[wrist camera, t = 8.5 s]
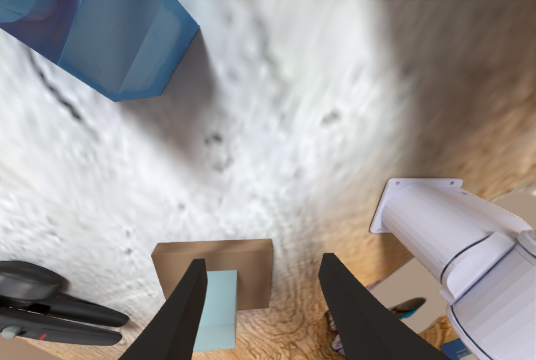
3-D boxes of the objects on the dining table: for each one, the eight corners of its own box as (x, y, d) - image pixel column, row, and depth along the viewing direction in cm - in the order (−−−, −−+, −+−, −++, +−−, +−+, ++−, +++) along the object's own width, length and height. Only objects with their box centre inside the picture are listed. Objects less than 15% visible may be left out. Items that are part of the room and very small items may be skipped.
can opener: (-19, 275, 23) (-92, 328, 18) (11, 247, 22) (-60, 296, 17) (116, 327, 31) (90, 375, 26) (144, 309, 29) (123, 355, 24)
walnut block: (270, 235, 25) (273, 250, 23) (267, 291, 31) (268, 307, 28) (159, 239, 24) (150, 255, 21) (176, 297, 29) (170, 315, 27)
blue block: (237, 269, 24) (233, 323, 19) (237, 294, 26) (235, 348, 21) (196, 272, 23) (180, 327, 18) (200, 296, 26) (188, 352, 20)
